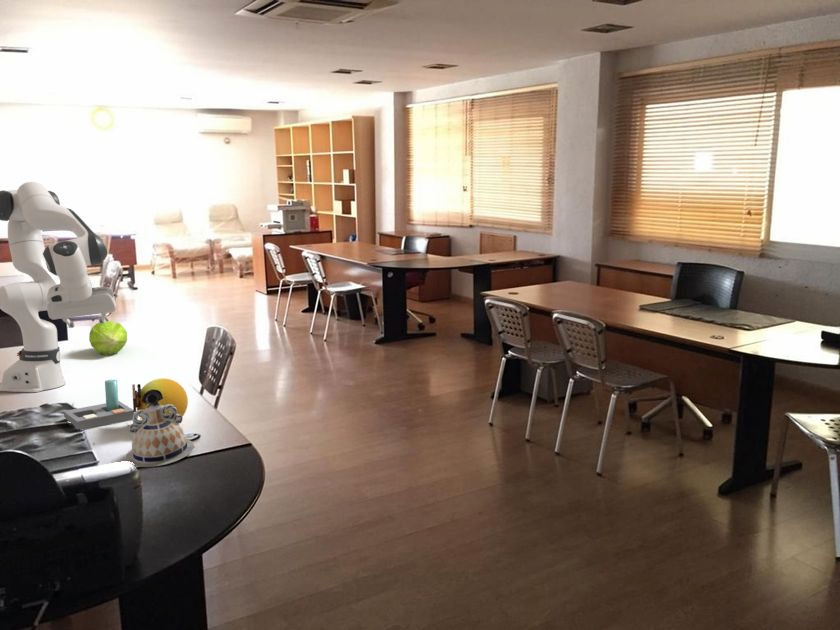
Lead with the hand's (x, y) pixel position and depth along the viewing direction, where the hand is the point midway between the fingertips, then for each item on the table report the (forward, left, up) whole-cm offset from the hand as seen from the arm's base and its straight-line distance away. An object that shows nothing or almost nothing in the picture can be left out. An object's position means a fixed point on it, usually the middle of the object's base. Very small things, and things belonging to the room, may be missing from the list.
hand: (87, 324), depth 225 cm
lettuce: (-17, +77, -28) cm, 83 cm away
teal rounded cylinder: (+11, -14, -28) cm, 33 cm away
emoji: (+28, -24, -28) cm, 46 cm away
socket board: (+7, -16, -28) cm, 33 cm away
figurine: (+33, -48, -28) cm, 65 cm away
